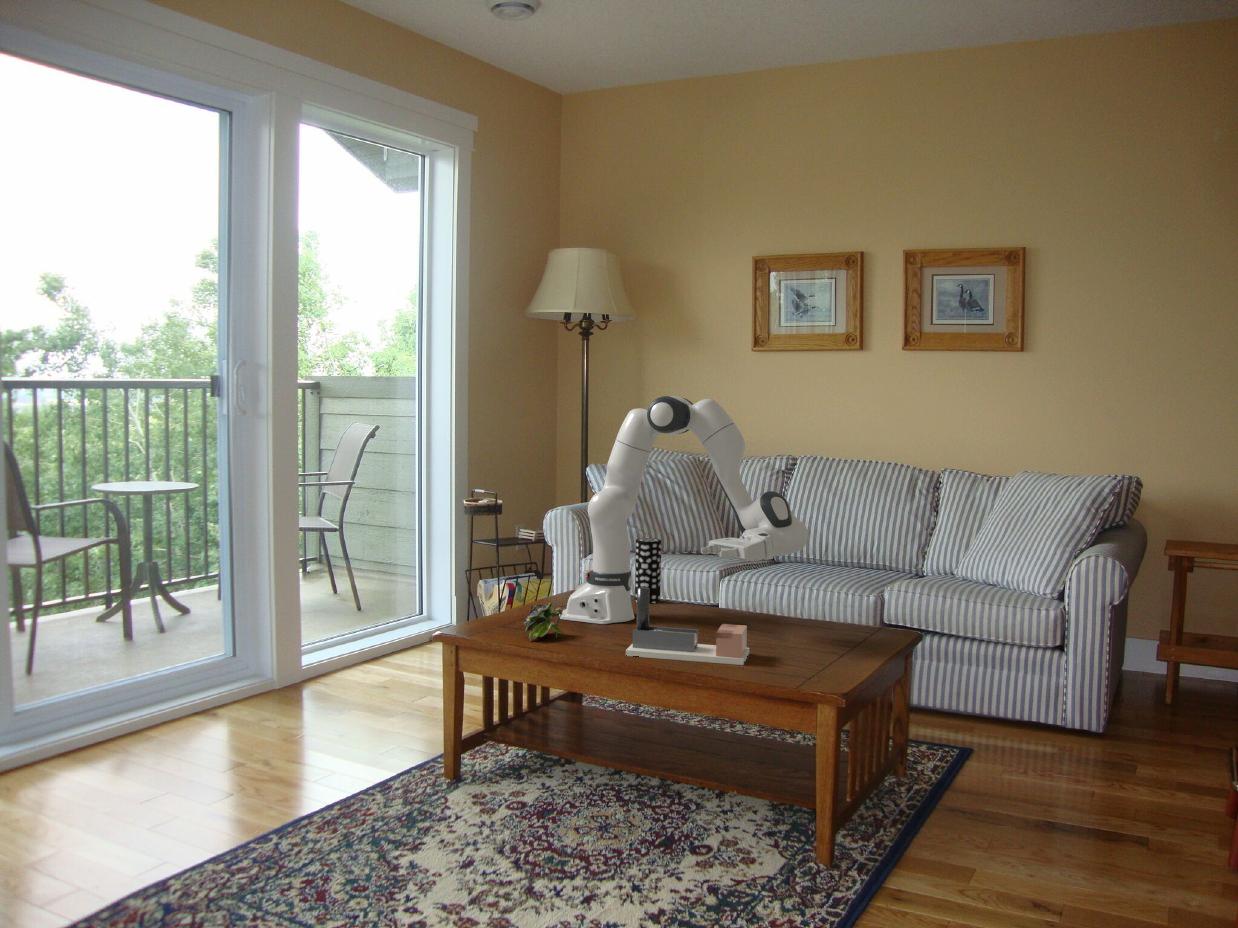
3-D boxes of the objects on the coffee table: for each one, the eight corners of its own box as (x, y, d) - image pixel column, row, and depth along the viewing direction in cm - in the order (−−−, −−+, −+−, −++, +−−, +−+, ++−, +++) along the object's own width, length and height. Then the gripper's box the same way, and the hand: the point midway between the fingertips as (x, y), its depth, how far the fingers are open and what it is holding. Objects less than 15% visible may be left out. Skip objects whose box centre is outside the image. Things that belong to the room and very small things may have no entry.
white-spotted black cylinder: (642, 604, 322) (643, 542, 320) (630, 599, 329) (631, 538, 328) (665, 602, 326) (666, 540, 324) (652, 597, 333) (653, 537, 332)
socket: (715, 655, 252) (716, 632, 252) (721, 646, 262) (722, 623, 262) (741, 657, 251) (741, 634, 250) (746, 648, 261) (746, 625, 260)
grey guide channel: (632, 647, 260) (632, 629, 260) (637, 642, 265) (637, 625, 265) (693, 652, 256) (694, 634, 256) (697, 646, 261) (697, 629, 261)
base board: (625, 655, 257) (625, 650, 257) (636, 644, 269) (636, 639, 269) (743, 665, 250) (743, 659, 250) (749, 653, 261) (749, 647, 261)
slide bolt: (633, 642, 261) (634, 588, 260) (636, 639, 264) (637, 586, 263) (694, 647, 257) (695, 592, 256) (696, 644, 260) (697, 590, 259)
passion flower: (535, 654, 279) (543, 614, 285) (568, 651, 274) (575, 611, 280) (512, 637, 271) (521, 597, 277) (546, 635, 266) (554, 593, 272)
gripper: (734, 530, 286) (691, 538, 280) (773, 536, 267) (728, 544, 262) (736, 552, 286) (693, 560, 281) (776, 559, 268) (731, 568, 262)
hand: (710, 552), depth 271 cm, fingers open, 8 cm apart
